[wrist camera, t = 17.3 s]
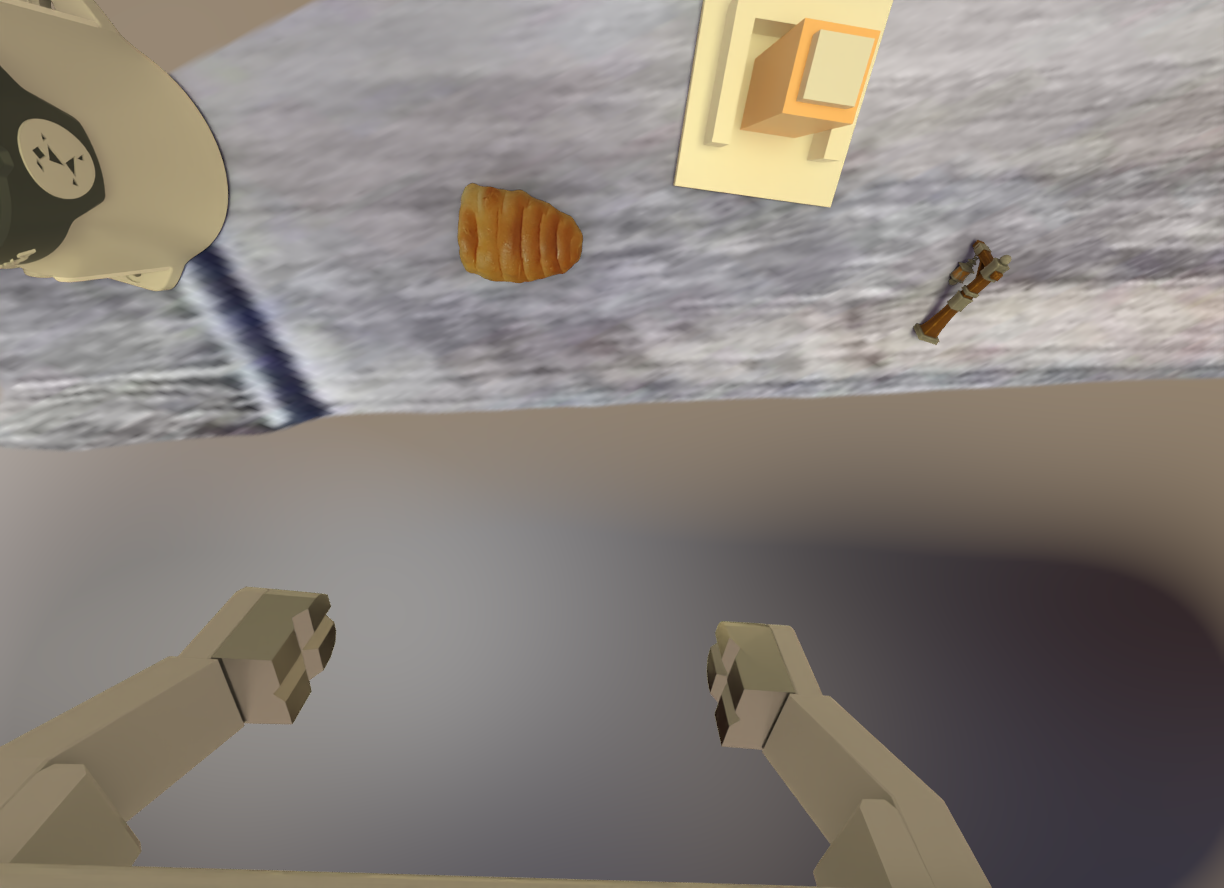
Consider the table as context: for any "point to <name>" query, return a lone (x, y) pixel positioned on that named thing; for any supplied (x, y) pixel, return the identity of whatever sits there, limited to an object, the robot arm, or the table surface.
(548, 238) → the pastry
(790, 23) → the holder
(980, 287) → the wooden post with brackets
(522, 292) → the table surface
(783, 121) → the block
